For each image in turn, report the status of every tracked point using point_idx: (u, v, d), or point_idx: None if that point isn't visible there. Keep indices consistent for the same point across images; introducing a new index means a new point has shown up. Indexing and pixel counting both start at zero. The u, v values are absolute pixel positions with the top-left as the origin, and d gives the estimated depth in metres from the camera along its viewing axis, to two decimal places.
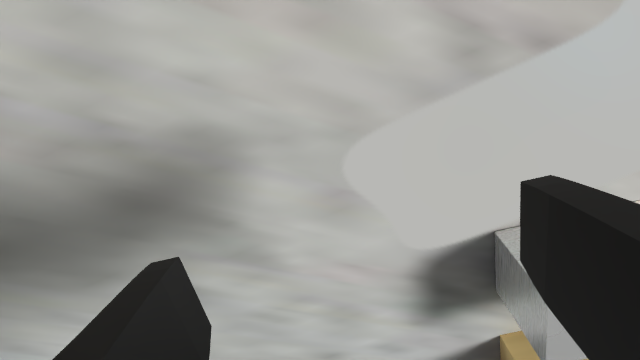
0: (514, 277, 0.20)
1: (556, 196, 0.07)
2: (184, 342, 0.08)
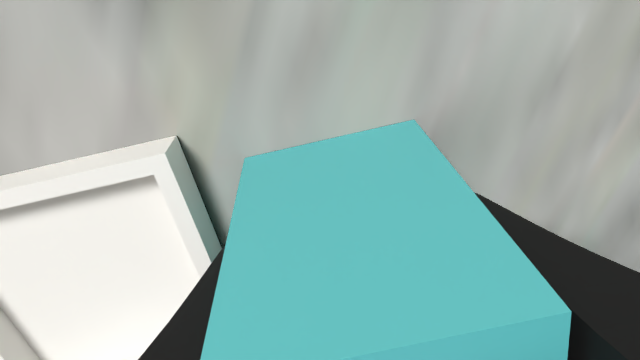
0: None
1: None
2: None
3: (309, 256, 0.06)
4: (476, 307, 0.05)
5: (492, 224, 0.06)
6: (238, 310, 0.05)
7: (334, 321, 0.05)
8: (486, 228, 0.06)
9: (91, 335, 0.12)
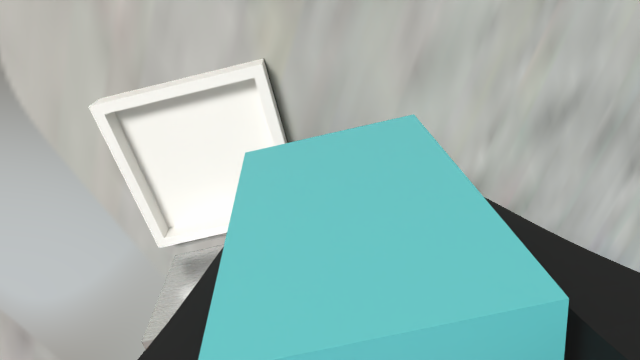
0: None
1: None
2: None
3: (309, 246, 0.06)
4: (474, 294, 0.05)
5: (491, 215, 0.06)
6: (238, 299, 0.05)
7: (334, 310, 0.05)
8: (485, 219, 0.06)
9: (198, 199, 0.18)
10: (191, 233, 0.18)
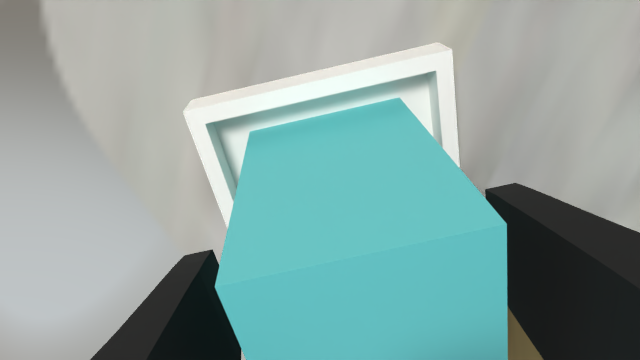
0: None
1: (515, 205, 0.07)
2: (220, 335, 0.08)
3: (306, 199, 0.07)
4: (436, 225, 0.06)
5: (456, 171, 0.07)
6: (247, 236, 0.07)
7: (324, 239, 0.06)
8: (450, 173, 0.07)
9: None
10: None
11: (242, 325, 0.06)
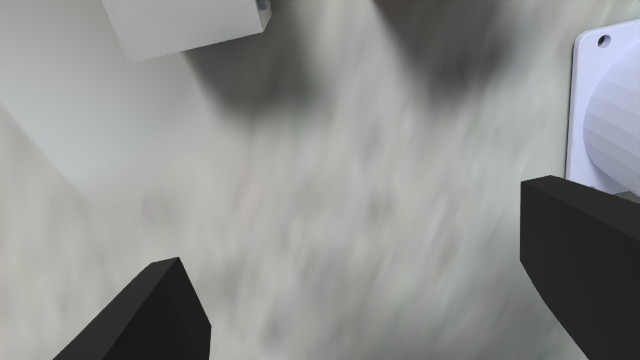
0: None
1: (556, 196, 0.07)
2: (184, 342, 0.08)
3: None
4: None
5: None
6: None
7: None
8: None
9: None
10: None
11: None
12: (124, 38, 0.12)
